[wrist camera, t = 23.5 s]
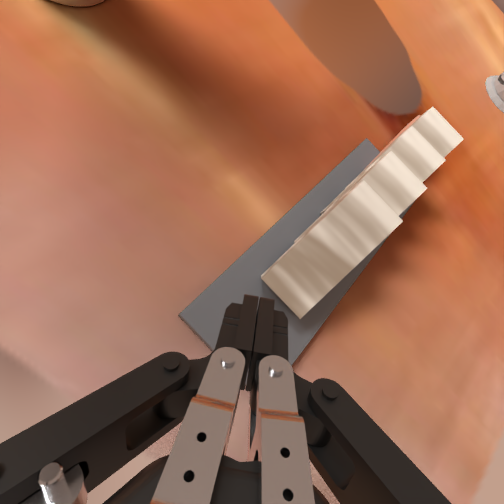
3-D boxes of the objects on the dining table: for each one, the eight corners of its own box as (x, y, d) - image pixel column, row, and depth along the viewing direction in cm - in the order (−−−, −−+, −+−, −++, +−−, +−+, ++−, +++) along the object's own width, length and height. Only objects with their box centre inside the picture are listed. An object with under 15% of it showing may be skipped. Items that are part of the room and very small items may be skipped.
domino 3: (332, 278, 28) (427, 188, 28) (296, 241, 28) (391, 150, 28) (326, 276, 31) (414, 192, 30) (293, 241, 31) (380, 158, 30)
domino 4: (300, 319, 26) (403, 221, 26) (261, 278, 26) (363, 180, 26) (296, 312, 28) (390, 223, 28) (260, 275, 28) (354, 185, 28)
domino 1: (381, 216, 33) (463, 138, 33) (351, 184, 33) (432, 106, 33) (372, 218, 35) (449, 146, 35) (344, 188, 35) (420, 116, 35)
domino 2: (358, 244, 31) (445, 160, 30) (325, 210, 31) (412, 125, 30) (351, 244, 33) (431, 166, 33) (320, 213, 33) (400, 134, 33)
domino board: (178, 315, 26) (179, 314, 25) (361, 142, 40) (366, 138, 39) (259, 401, 26) (263, 402, 25) (413, 197, 40) (420, 194, 39)
